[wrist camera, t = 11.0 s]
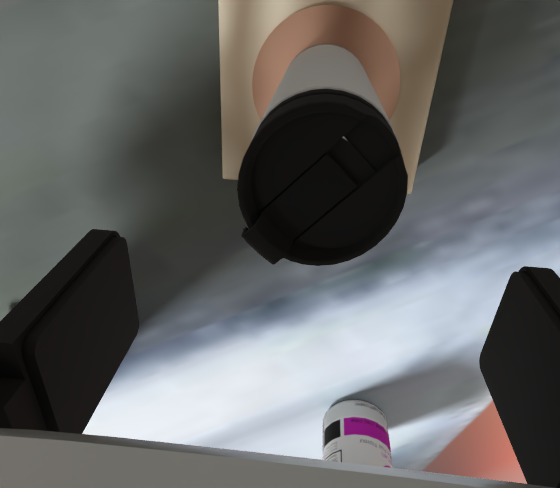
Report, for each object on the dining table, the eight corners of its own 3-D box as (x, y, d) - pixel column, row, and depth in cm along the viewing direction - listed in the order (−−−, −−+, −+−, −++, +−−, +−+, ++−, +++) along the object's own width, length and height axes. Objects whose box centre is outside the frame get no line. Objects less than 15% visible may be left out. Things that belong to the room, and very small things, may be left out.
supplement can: (371, 389, 54) (384, 514, 41) (395, 429, 57) (414, 556, 45) (312, 405, 57) (308, 527, 44) (339, 442, 60) (341, 566, 47)
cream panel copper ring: (231, 162, 41) (221, 179, 37) (229, -41, 32) (216, -45, 29) (403, 176, 40) (411, 195, 36) (446, -30, 31) (461, -33, 28)
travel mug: (262, 90, 33) (191, 198, 16) (328, 22, 30) (330, 62, 13) (317, 149, 35) (309, 303, 17) (384, 90, 32) (451, 203, 15)
